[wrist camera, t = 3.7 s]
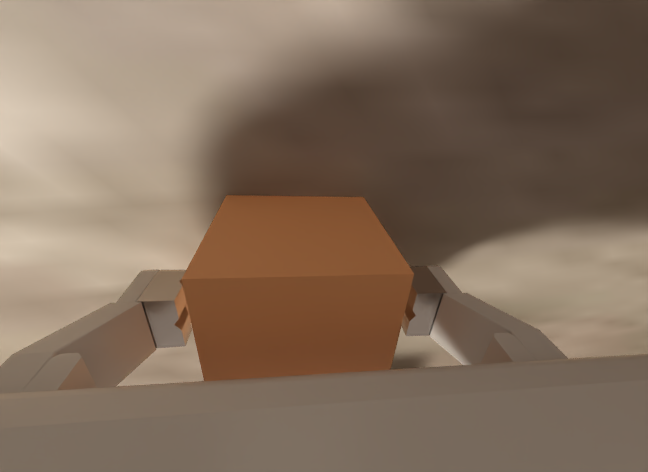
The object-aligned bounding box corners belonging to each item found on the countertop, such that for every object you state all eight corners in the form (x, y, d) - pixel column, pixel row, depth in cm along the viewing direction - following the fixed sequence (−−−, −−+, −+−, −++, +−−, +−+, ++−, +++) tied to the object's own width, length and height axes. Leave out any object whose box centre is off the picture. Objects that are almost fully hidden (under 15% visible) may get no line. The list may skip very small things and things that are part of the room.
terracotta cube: (226, 194, 10) (181, 278, 6) (362, 196, 11) (414, 273, 6) (238, 302, 13) (212, 419, 8) (350, 298, 13) (381, 406, 9)
